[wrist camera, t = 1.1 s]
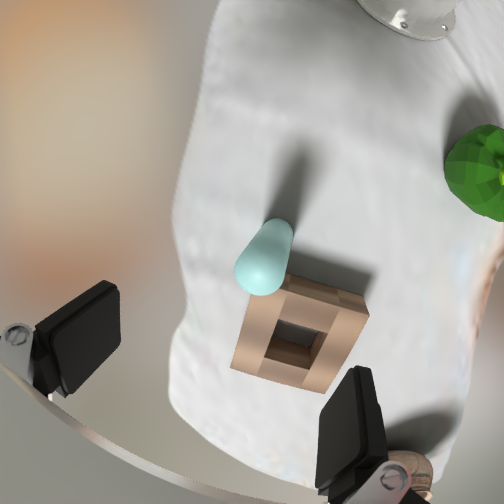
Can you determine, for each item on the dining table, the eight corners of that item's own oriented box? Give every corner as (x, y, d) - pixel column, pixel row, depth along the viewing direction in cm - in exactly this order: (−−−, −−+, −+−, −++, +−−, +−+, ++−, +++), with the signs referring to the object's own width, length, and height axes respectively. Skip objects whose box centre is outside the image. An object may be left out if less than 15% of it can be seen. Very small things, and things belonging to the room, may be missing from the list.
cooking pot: (449, 443, 32) (461, 489, 20) (381, 484, 38) (382, 525, 27) (374, 416, 32) (381, 484, 20) (296, 463, 38) (288, 516, 27)
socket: (262, 265, 28) (255, 281, 24) (362, 296, 27) (369, 315, 23) (238, 346, 32) (229, 367, 28) (324, 371, 30) (324, 394, 27)
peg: (265, 214, 26) (240, 241, 17) (297, 223, 26) (290, 257, 16) (256, 244, 27) (229, 286, 18) (287, 254, 27) (276, 301, 18)
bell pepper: (494, 145, 18) (552, 145, 9) (484, 216, 21) (541, 240, 12) (436, 118, 20) (491, 101, 10) (426, 196, 22) (481, 215, 13)
